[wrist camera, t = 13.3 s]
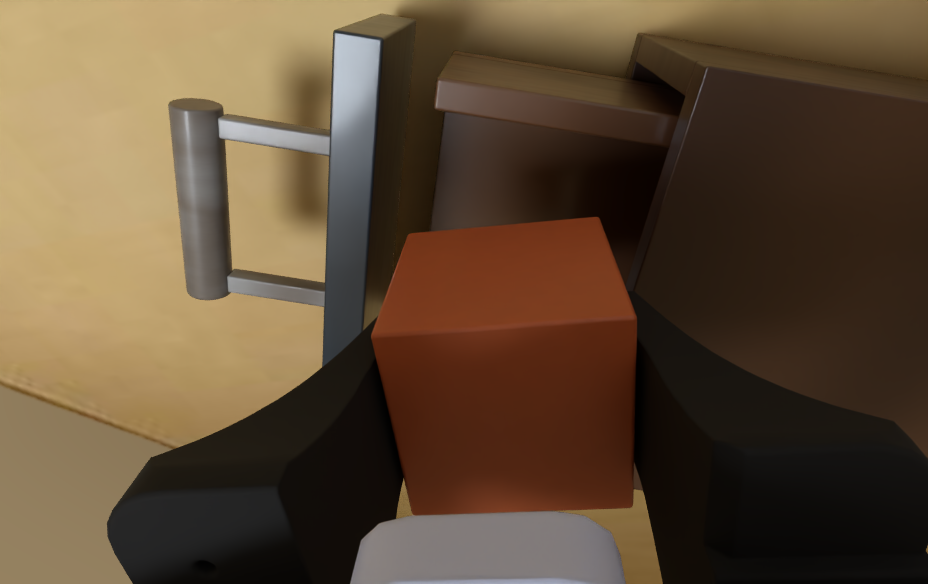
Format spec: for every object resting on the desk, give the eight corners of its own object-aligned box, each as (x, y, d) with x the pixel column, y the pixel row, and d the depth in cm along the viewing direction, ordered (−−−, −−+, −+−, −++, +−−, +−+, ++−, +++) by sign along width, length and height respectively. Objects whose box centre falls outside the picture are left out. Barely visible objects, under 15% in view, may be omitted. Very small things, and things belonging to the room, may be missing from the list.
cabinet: (553, 346, 25) (571, 480, 19) (637, 32, 19) (706, 65, 13) (883, 397, 26) (1016, 548, 19) (1069, 103, 19) (1361, 173, 13)
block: (407, 232, 14) (368, 334, 10) (599, 214, 14) (638, 316, 10) (434, 383, 16) (411, 517, 12) (601, 373, 16) (634, 509, 12)
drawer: (240, 297, 24) (170, 384, 19) (226, -13, 19) (120, -5, 13) (681, 365, 24) (727, 469, 19) (795, 81, 19) (902, 122, 14)
